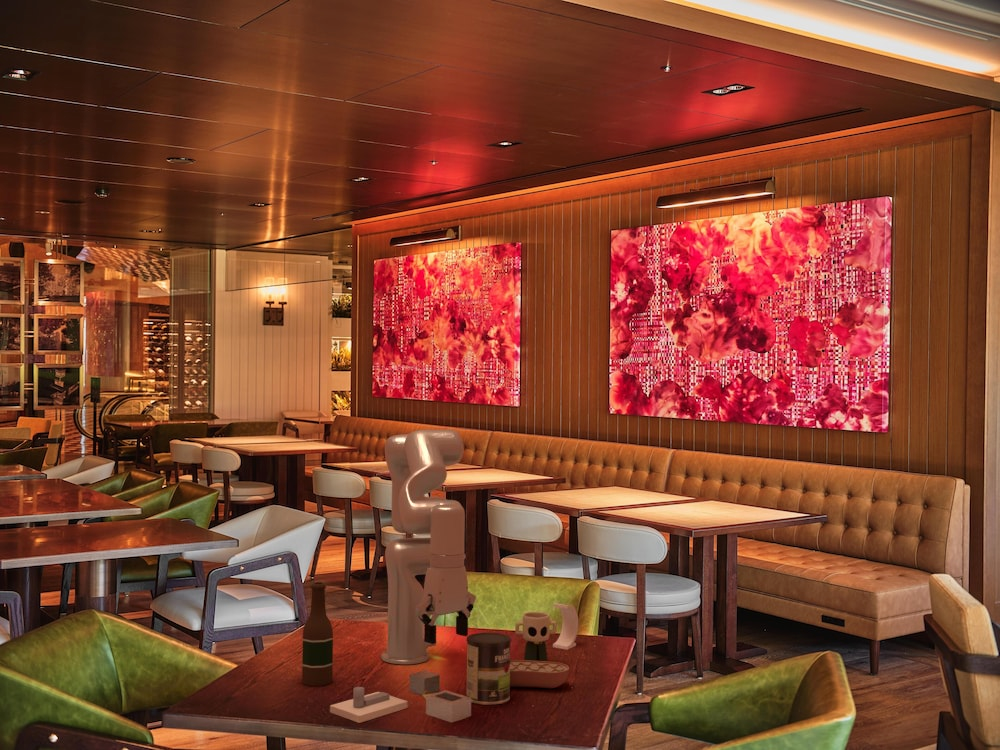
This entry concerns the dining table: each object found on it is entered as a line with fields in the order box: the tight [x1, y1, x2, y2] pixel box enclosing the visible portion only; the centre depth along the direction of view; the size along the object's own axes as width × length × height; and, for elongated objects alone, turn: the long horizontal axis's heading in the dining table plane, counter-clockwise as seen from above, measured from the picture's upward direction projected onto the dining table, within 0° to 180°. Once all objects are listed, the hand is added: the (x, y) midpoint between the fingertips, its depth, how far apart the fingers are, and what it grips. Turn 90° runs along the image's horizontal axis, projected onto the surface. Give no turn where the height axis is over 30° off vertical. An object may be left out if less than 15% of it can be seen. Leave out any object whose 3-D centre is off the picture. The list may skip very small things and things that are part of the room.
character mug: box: [514, 611, 558, 661], centre depth 267 cm, size 11×7×13 cm, turn 99°
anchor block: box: [409, 670, 441, 697], centre depth 243 cm, size 5×5×4 cm
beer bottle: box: [301, 581, 334, 687], centre depth 250 cm, size 8×8×24 cm
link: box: [425, 689, 472, 724], centre depth 226 cm, size 6×8×4 cm
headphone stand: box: [552, 602, 579, 651], centre depth 286 cm, size 5×6×12 cm
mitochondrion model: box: [510, 659, 570, 689], centre depth 249 cm, size 23×10×5 cm, turn 88°
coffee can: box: [465, 632, 512, 706], centre depth 239 cm, size 10×10×14 cm
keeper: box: [329, 686, 408, 724], centre depth 229 cm, size 14×10×6 cm
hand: (446, 638), depth 226 cm, fingers open, 9 cm apart
